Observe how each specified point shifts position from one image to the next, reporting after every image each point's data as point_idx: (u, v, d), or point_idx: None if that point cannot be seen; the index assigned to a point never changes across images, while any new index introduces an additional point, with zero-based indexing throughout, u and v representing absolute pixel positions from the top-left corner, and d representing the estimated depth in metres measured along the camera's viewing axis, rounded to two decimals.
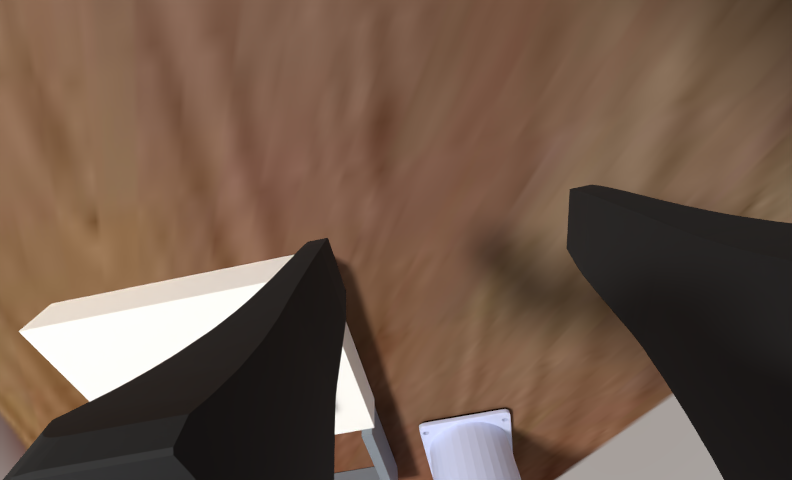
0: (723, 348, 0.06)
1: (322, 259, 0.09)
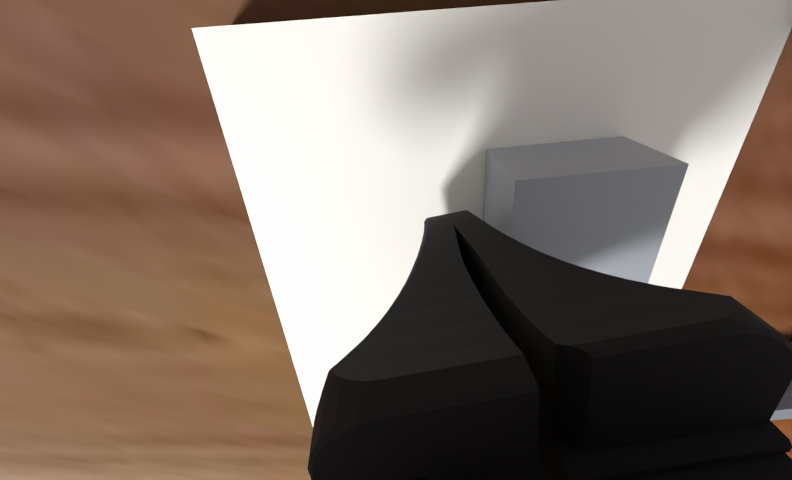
0: None
1: None
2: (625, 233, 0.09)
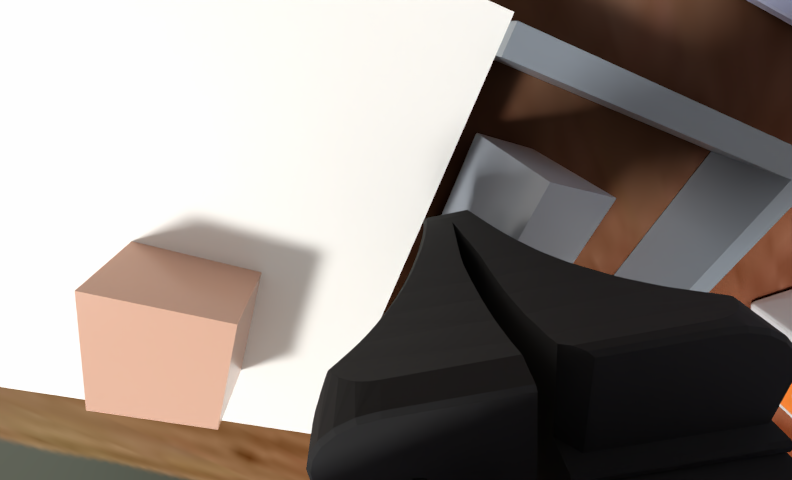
0: None
1: None
2: None
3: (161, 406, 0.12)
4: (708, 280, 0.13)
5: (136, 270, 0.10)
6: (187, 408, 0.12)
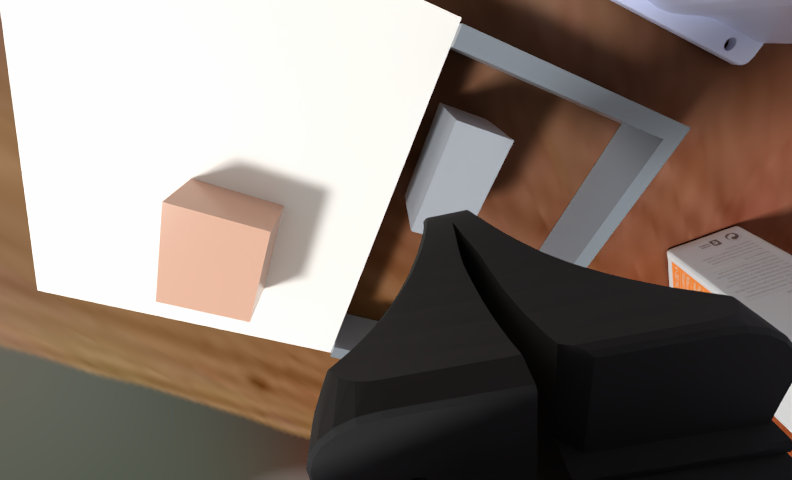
0: None
1: None
2: None
3: (210, 299, 0.16)
4: (614, 218, 0.17)
5: (198, 195, 0.15)
6: (229, 302, 0.16)
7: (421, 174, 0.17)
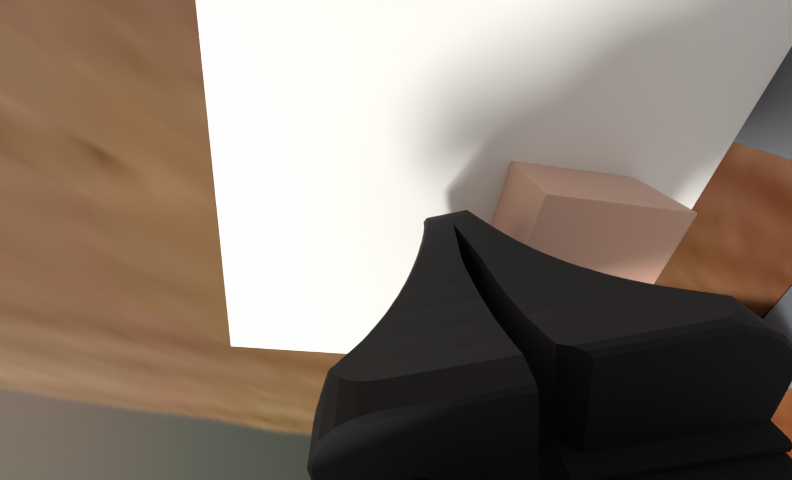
0: None
1: (454, 233, 0.09)
2: None
3: None
4: None
5: (555, 179, 0.10)
6: None
7: (782, 78, 0.11)
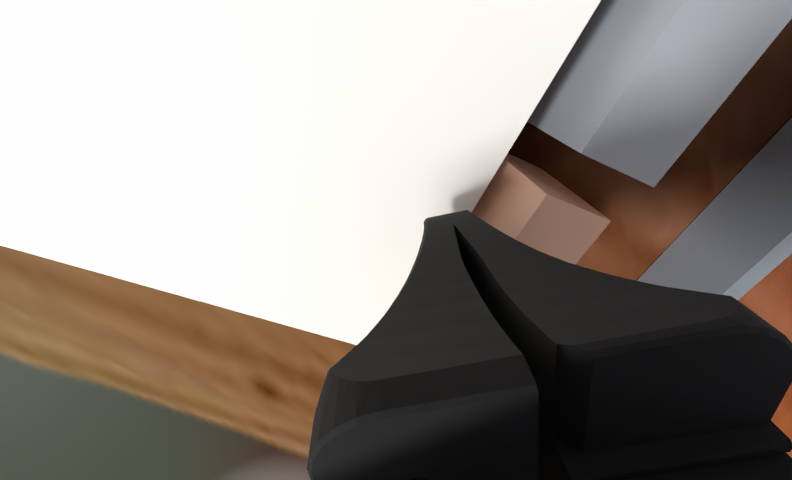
0: None
1: None
2: None
3: None
4: None
5: (564, 195, 0.11)
6: None
7: (587, 68, 0.10)
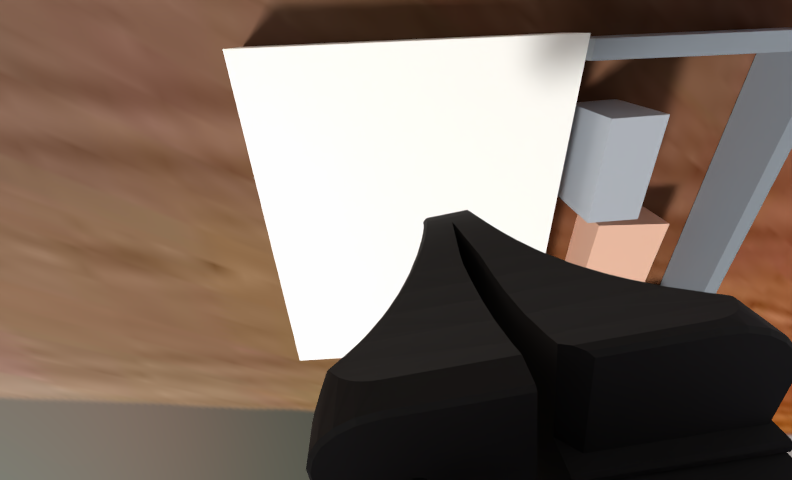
0: None
1: None
2: None
3: None
4: (787, 140, 0.17)
5: (641, 214, 0.21)
6: None
7: (575, 171, 0.19)
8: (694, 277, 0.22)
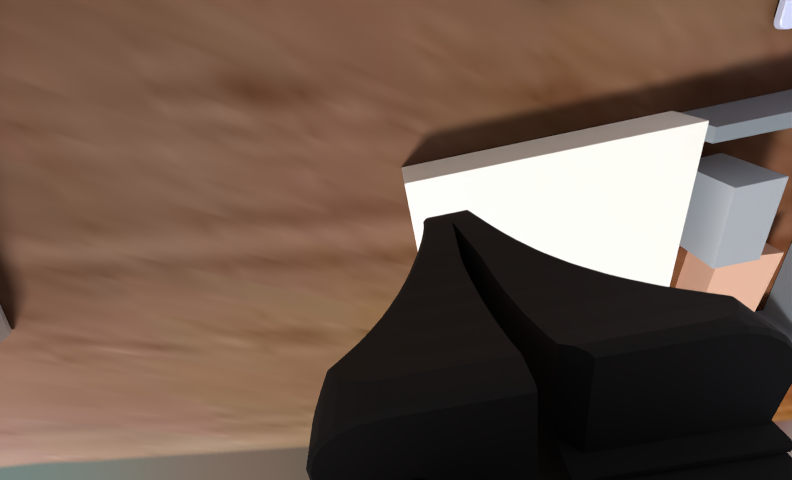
0: None
1: None
2: None
3: None
4: None
5: None
6: None
7: (691, 221, 0.21)
8: None
